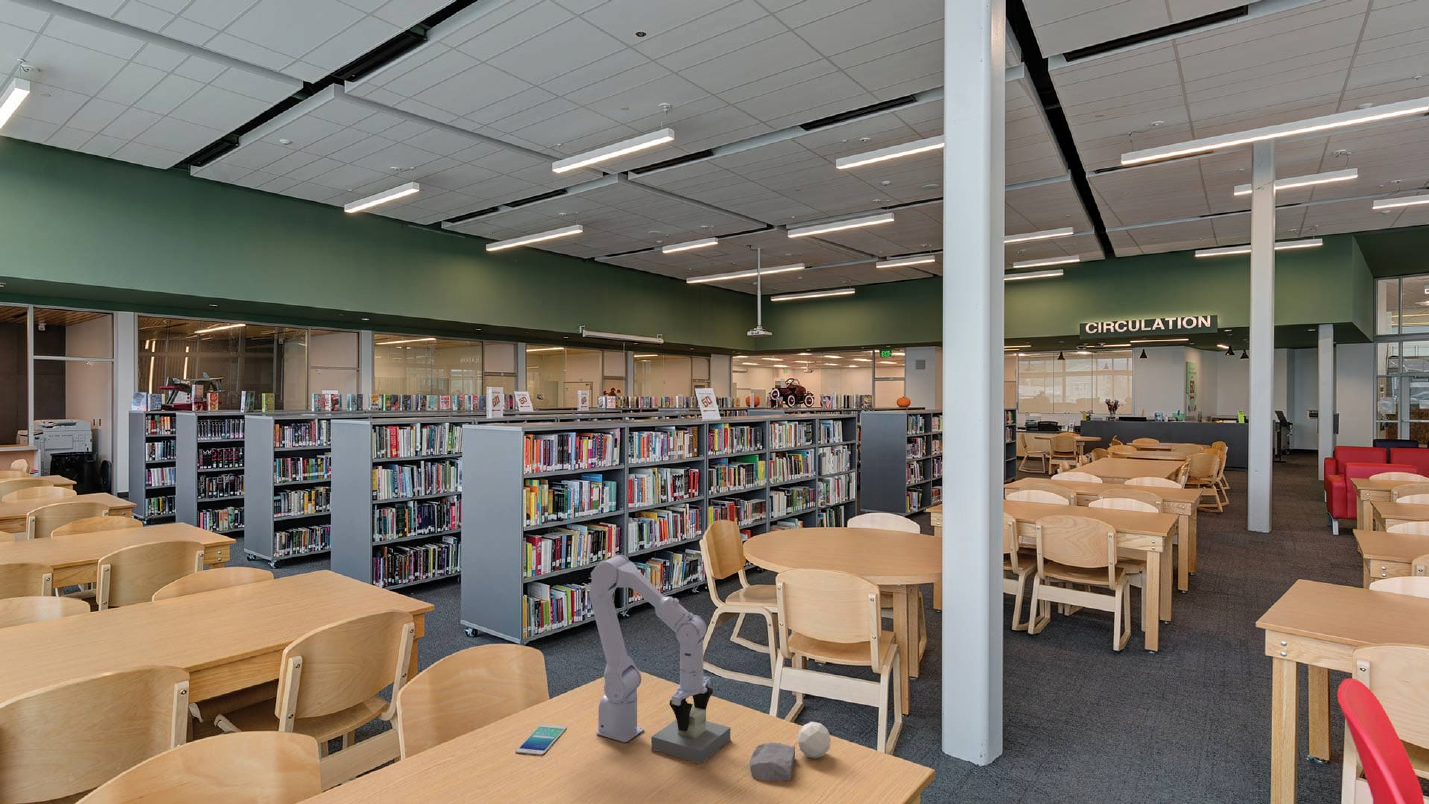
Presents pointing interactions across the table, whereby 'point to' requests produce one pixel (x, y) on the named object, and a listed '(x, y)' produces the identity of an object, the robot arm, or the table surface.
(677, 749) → the stacking base
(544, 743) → the smartphone
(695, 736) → the sage green cube
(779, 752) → the stone block
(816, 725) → the geometric ball
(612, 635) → the robot arm
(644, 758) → the table surface
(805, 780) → the table surface
